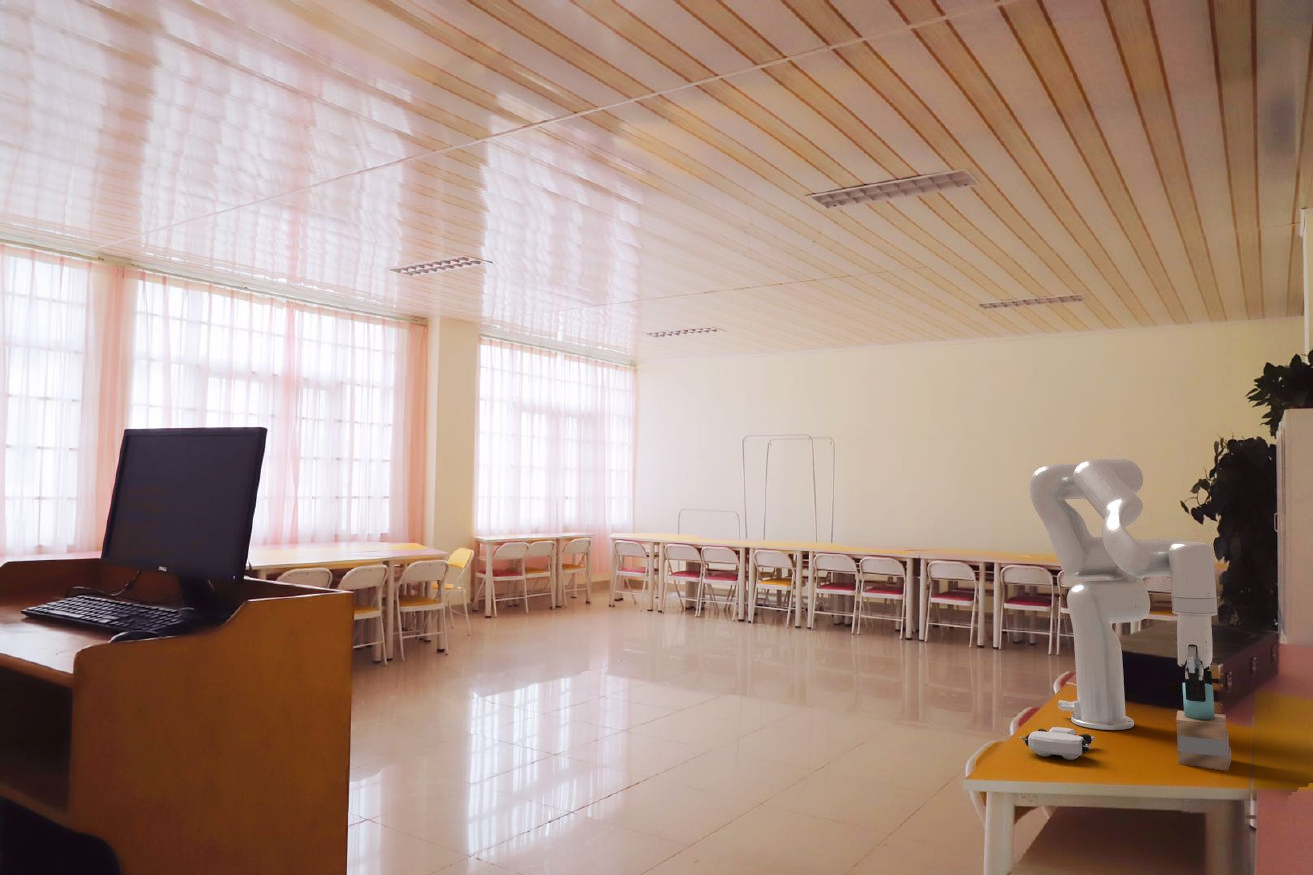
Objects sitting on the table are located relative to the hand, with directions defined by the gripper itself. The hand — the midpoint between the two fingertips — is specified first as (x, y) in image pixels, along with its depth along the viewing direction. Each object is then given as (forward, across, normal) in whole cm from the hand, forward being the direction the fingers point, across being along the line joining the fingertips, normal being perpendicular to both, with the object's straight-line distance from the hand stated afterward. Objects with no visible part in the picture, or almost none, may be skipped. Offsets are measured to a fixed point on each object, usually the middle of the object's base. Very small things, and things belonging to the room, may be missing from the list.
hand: (1199, 695), depth 172 cm
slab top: (+7, 0, 0) cm, 7 cm away
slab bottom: (+13, 0, 0) cm, 13 cm away
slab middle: (+10, 0, 0) cm, 10 cm away
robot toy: (+13, +8, -24) cm, 28 cm away
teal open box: (+4, 0, 0) cm, 4 cm away
